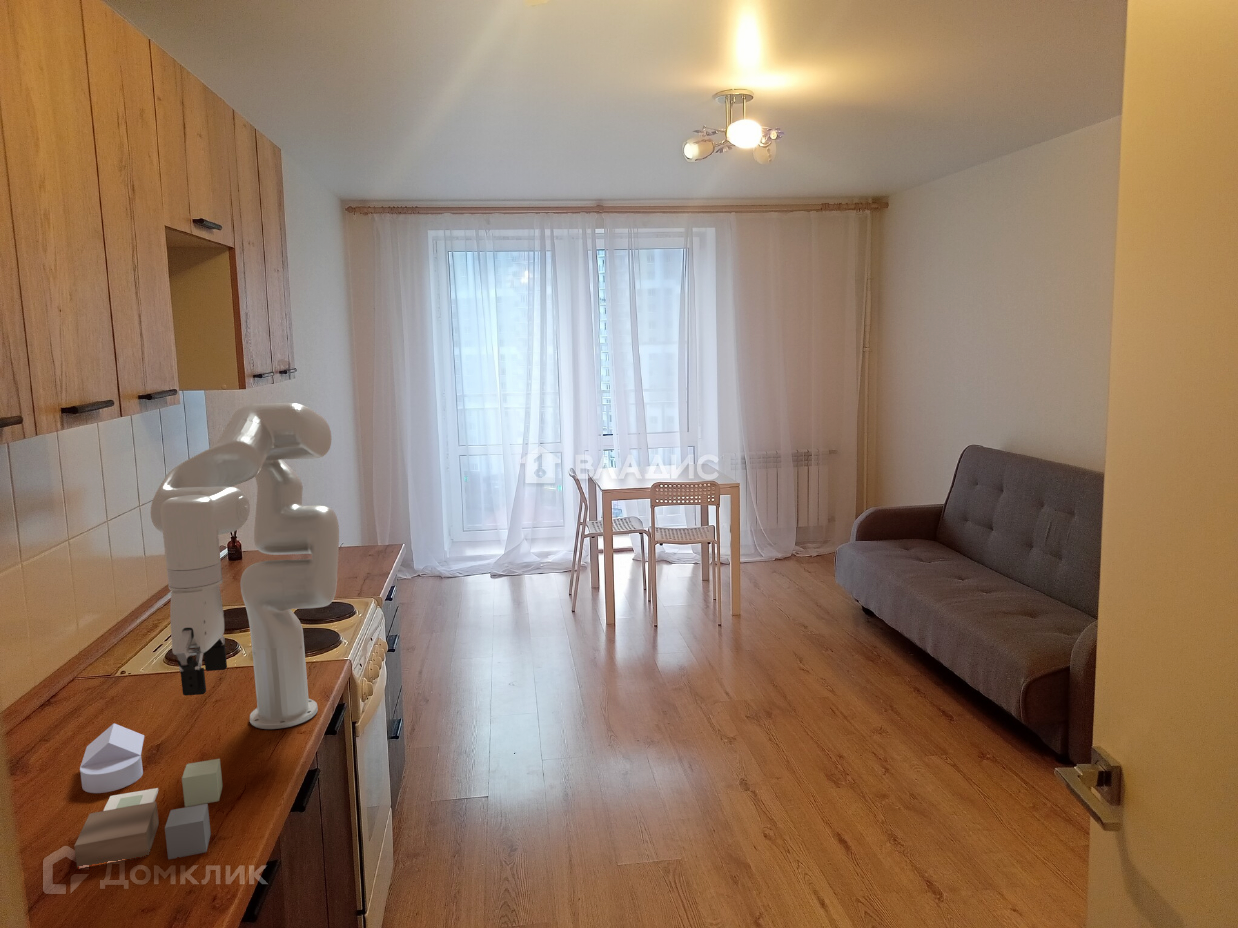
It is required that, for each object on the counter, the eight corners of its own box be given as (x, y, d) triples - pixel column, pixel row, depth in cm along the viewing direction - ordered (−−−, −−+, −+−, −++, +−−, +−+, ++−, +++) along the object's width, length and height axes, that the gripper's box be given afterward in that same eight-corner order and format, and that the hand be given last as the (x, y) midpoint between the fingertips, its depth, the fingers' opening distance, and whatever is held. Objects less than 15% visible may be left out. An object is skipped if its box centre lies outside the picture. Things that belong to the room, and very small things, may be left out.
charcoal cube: (174, 841, 128) (170, 809, 127) (210, 834, 130) (207, 803, 129) (168, 859, 124) (164, 827, 123) (206, 852, 125) (203, 820, 124)
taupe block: (92, 837, 130) (89, 813, 130) (159, 825, 133) (156, 801, 132) (77, 871, 122) (74, 845, 121) (148, 857, 125) (145, 832, 124)
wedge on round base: (89, 764, 153) (78, 798, 141) (84, 728, 152) (73, 759, 140) (146, 752, 157) (140, 784, 145) (142, 717, 156) (136, 747, 144)
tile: (110, 799, 140) (110, 794, 140) (158, 791, 143) (157, 786, 143) (100, 821, 134) (99, 816, 134) (150, 812, 136) (149, 807, 136)
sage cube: (189, 791, 142) (186, 763, 142) (222, 786, 144) (219, 758, 143) (184, 807, 138) (181, 778, 137) (218, 801, 139) (216, 772, 138)
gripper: (190, 562, 140) (200, 662, 143) (146, 593, 123) (158, 706, 126) (238, 560, 141) (247, 659, 143) (201, 590, 124) (212, 702, 126)
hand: (206, 681), depth 135 cm, fingers open, 9 cm apart
